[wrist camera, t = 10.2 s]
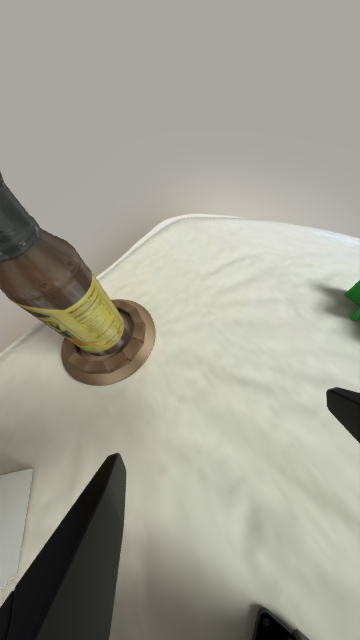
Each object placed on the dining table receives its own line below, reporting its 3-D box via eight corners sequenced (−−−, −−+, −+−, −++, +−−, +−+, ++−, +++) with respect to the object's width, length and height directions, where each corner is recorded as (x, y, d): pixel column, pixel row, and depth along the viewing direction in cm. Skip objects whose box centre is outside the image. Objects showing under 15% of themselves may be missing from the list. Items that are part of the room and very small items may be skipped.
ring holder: (113, 406, 21) (106, 404, 19) (45, 355, 25) (34, 349, 24) (172, 321, 26) (171, 314, 25) (107, 291, 31) (102, 282, 29)
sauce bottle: (79, 334, 26) (-144, 152, 9) (117, 311, 28) (-10, 119, 11) (95, 369, 23) (-189, 197, 6) (138, 341, 25) (6, 142, 8)
